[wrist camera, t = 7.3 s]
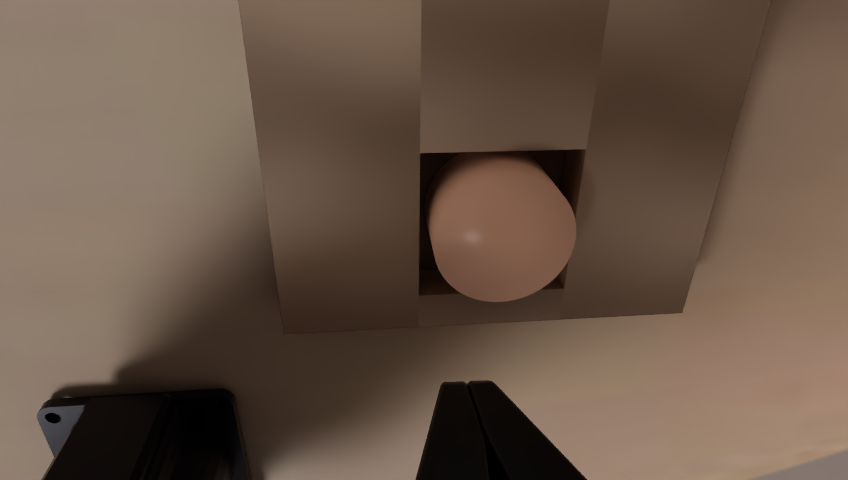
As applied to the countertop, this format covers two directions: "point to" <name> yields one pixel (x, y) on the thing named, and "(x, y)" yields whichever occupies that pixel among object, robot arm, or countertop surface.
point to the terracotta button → (498, 225)
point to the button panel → (491, 143)
